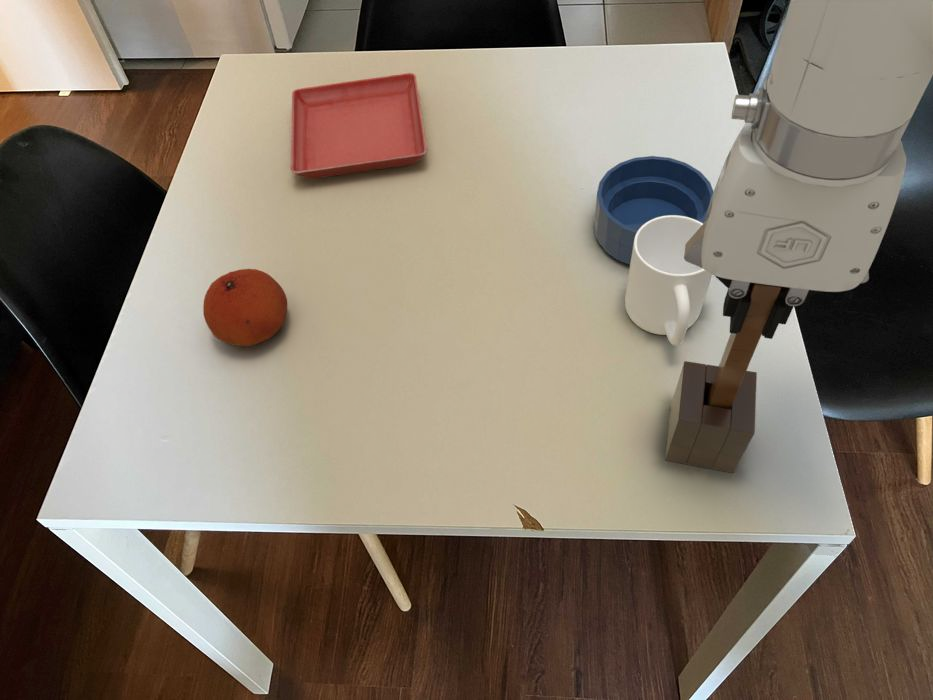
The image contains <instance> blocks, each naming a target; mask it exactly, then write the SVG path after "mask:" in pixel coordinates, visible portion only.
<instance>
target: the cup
mask: <svg viewBox="0 0 933 700" xmlns="http://www.w3.org/2000/svg"><path fill="white" fill-rule="evenodd" d="M702 225H703V223H701V222H699V221H697V220H695V219H692V218H689V217H685V216H678V215H668V216H661V217H657V218H654V219H652V220H650V221H648V222H646V223H645V224H644V225H643V226H642V227H641V228H640V229H639V230H638V231H637V233H636V235H635V238H634V244H633V251H632V257H631V263H630V265H629V269H628V276H627V282H626V288H625V295H624V307H625V311H626V313H627V315H628V317H629V318H630V320H631V321H632V322H633V323H634V324H635V325H636V326H637V327H638V328H640V329H642V330H644V331H646V332H648V333H651V334H655V335H661V336H666V337H667V340H668V342H669V343H670V344H671V345H672V346H676V347H677V346H680V345H682V343H683V342H684V340H685V338H686V335H687V330H688V329H689V328H690V327H692V326H693V325H694V324H695V323H696V322H697V320H698V318H699V317H700V315H701V311H702V309H703V306H704V304H705V299H706V296H707V293H708V290H709V287H710V284H711V280H712V278H713V275H712V274H710V273H708V272H707V271H705V270H704V269H703V268H701V267H699V266H696V265H694V264H691V263H689V262H687V261H685V259H684V253H685V245H686V243H687V242H688V241H689V240H690V238H691V237H692V236H693V235H694V234H695V233H696V232H697V230H698V229H699V228H700V227H701V226H702Z"/></svg>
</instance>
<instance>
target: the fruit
mask: <svg viewBox="0 0 933 700" xmlns="http://www.w3.org/2000/svg"><path fill="white" fill-rule="evenodd" d="M282 287H283V286H281V285H280V284H279V283H278V281H277V280H276V279H274V277H272V276H271V275H270V274H268V273H267V272H264V271H262V270H258V269H256V268H242V269H237V270H233V271H229V272H227V273H225V274H223V275H221V276H219V277H217V278H216V279H215V280H214V281H213V282H212V283H211V284H210V285H209V287H208V289H207V290H206V294H205V295H204V299H203V307H202V309H203V310H202V311H203V317H204V322H205V324H206V326H207V327H208V329H209V330H210V332H211V334H212V336H214V337H215V338H216V339H217V340H219V341H221V342H223V343H226V344H229V345H232V346H241V347H249V346H250V347H251V346H255V345H258V344H260V343H262V342H264V341H267V340H269V339H271V338H272V337H273V336H274V335H275V334H276V333H277V332H278V331H280V329H281V328H282V326H283V324H284V322H285V320H286V317H287V312H288V299H287V294H286V293H285V291H284V288H282Z"/></svg>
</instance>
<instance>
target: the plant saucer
mask: <svg viewBox="0 0 933 700" xmlns="http://www.w3.org/2000/svg"><path fill="white" fill-rule="evenodd" d="M420 101H421V100H420V95H419V88H418V79H417V75H416V74H415V73H413V72H407V73H400V74H392V75H391V74H390V75H386V76H379V77H371V78H364V79H357V80H350V81H343V82H336V83H329V84H323V85H321V84H320V85H316V86H309V87H302V88H296V89H294V90H293V91H292V93H291V127H290V128H291V130H290V131H291V135H290V139H291V140H290V171H291V173H292V174H294V175H296V176H299V177H301V178H302V177H303V178H308V179H320V178H327V177H333V176H340V175H347V174H353V173H355V174H356V173H361V172H368V171H374V170H382V169H389V168H396V167H402V166H410V165H413V164H415V163H417V162H418V161H419V160H421V159H423V157H425V155H426V154H427V152H428V148H427V142H426V135H425V128H424V122H423V115H422V114H423V113H422V108H421V102H420Z"/></svg>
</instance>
